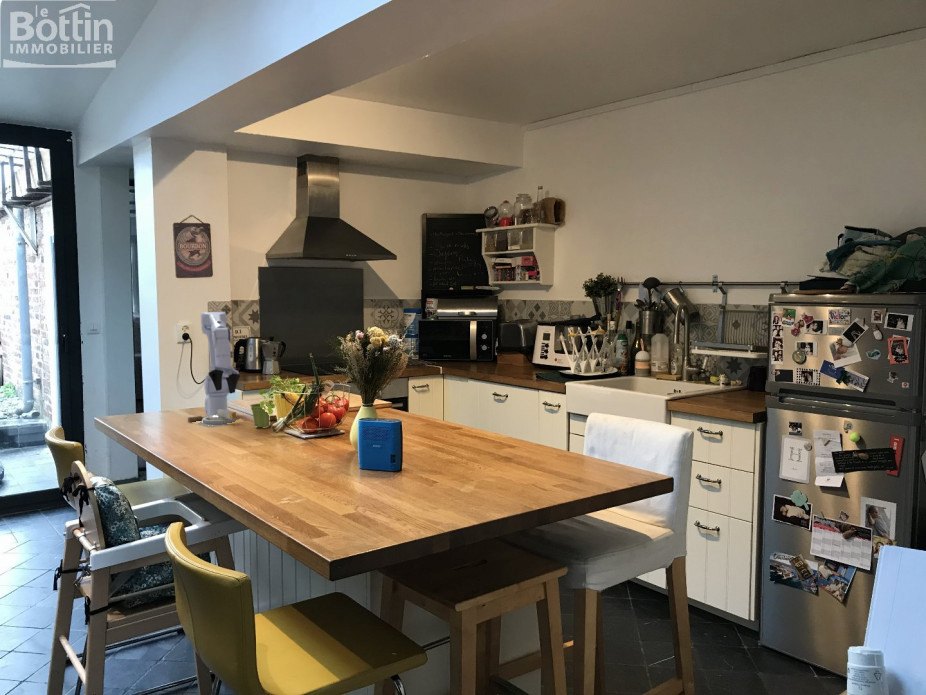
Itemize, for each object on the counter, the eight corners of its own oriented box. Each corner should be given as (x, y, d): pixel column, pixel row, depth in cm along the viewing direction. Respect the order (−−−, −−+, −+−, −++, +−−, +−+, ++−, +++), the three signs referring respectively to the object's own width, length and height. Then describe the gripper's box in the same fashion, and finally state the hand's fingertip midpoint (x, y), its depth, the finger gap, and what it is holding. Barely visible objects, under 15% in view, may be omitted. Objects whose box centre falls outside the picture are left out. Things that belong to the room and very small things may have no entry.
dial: (204, 421, 292) (204, 409, 292) (223, 418, 298) (223, 407, 298) (224, 425, 282) (224, 413, 282) (243, 422, 288) (243, 411, 288)
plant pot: (269, 424, 291) (268, 402, 290) (280, 427, 284) (279, 405, 283) (246, 427, 285) (246, 404, 284) (257, 430, 278) (256, 407, 277)
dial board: (186, 423, 292) (186, 418, 292) (228, 417, 305) (227, 412, 305) (210, 429, 280) (209, 423, 280) (252, 423, 293) (252, 417, 293)
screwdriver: (190, 422, 290) (190, 417, 290) (187, 422, 291) (187, 417, 291) (218, 418, 299) (218, 413, 299) (215, 418, 300) (215, 413, 300)
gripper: (218, 351, 280) (220, 386, 276) (243, 358, 293) (246, 391, 289) (203, 356, 282) (206, 390, 278) (229, 362, 295) (232, 395, 291)
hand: (225, 391), depth 284 cm, fingers open, 7 cm apart
